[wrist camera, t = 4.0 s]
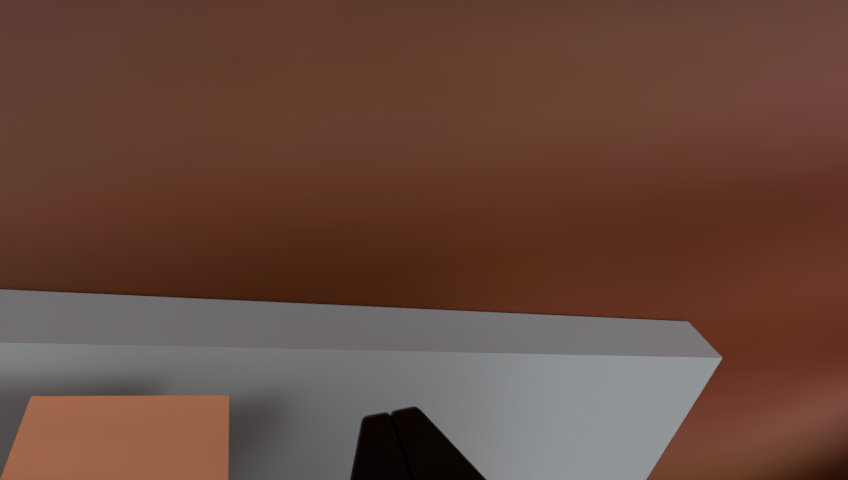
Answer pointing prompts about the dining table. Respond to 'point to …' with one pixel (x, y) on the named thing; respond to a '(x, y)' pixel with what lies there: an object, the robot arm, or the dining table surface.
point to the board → (368, 378)
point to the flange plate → (122, 438)
